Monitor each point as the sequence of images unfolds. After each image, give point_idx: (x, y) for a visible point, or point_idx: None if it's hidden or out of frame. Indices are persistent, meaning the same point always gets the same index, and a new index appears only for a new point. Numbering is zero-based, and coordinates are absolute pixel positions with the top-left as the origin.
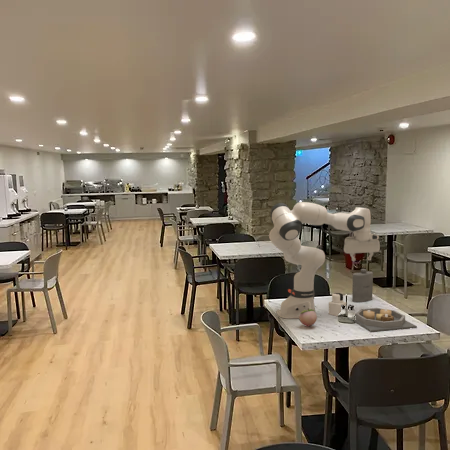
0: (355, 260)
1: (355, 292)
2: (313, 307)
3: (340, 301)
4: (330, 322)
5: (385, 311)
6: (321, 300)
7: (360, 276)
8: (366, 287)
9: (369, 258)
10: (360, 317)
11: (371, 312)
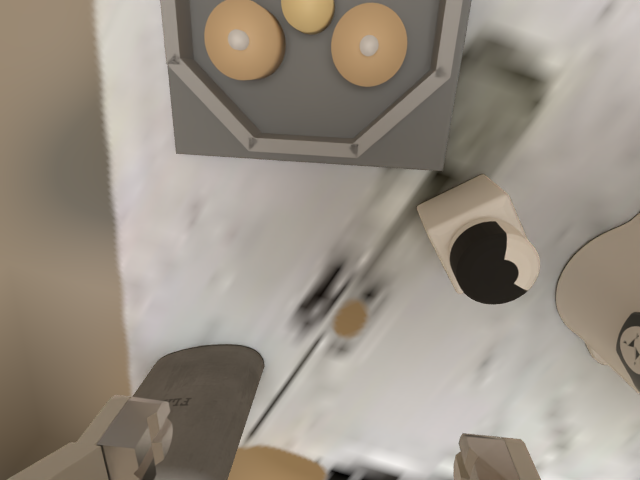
0: (470, 440)
1: (244, 388)
2: (631, 261)
3: (489, 219)
4: (603, 97)
5: (251, 23)
6: (398, 422)
7: (182, 463)
8: (168, 400)
9: (134, 424)
10: (460, 5)
11: (357, 31)
